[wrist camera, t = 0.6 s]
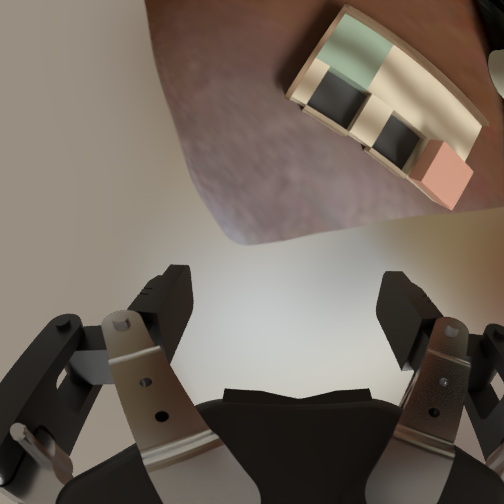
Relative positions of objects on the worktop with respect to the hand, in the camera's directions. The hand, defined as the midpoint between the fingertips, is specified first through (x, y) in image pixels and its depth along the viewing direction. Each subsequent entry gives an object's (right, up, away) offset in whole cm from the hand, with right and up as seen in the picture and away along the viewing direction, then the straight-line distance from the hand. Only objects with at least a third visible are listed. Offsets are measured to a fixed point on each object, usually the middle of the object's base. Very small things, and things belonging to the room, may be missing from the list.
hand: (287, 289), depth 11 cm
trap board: (+16, +20, +18) cm, 31 cm away
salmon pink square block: (+22, +12, +18) cm, 31 cm away
